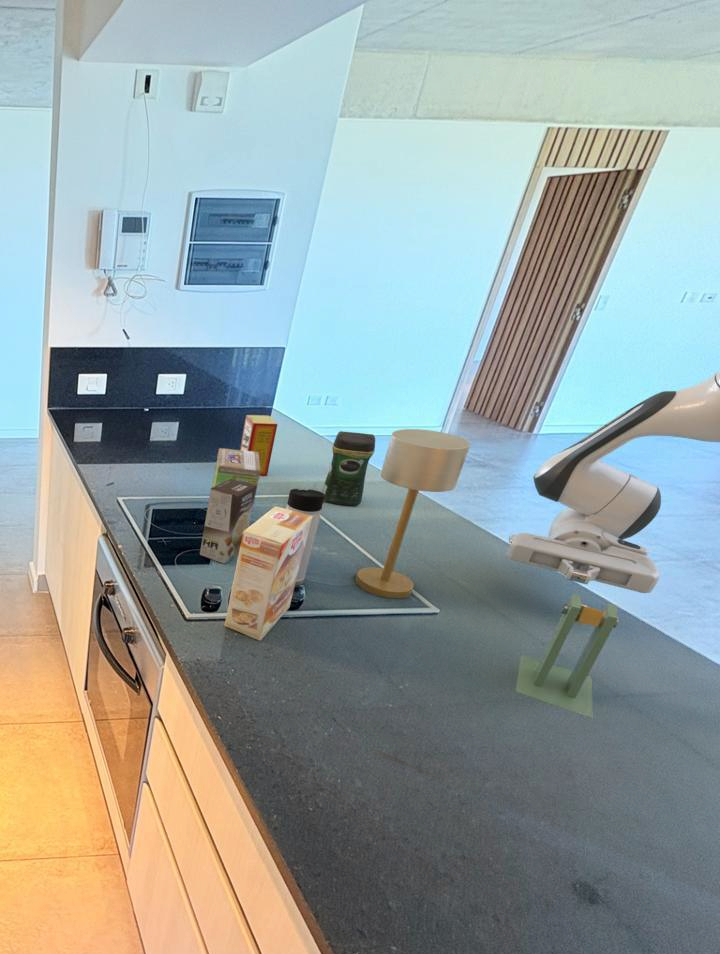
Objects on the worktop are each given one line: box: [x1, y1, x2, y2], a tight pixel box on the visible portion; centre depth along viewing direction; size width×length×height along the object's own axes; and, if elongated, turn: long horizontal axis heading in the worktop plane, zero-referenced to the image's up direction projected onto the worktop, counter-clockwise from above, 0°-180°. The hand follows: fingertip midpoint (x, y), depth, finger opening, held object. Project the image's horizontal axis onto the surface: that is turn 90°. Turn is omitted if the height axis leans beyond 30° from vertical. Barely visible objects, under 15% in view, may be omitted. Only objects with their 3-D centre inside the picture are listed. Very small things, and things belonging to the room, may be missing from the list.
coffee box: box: [199, 479, 258, 565], centre depth 134 cm, size 9×6×16 cm
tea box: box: [211, 447, 261, 488], centre depth 155 cm, size 15×10×15 cm
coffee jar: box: [321, 430, 376, 506], centre depth 160 cm, size 10×8×19 cm
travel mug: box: [285, 488, 325, 586], centre depth 123 cm, size 6×7×20 cm
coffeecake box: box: [224, 505, 313, 641], centre depth 111 cm, size 15×7×20 cm, turn 137°
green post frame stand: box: [515, 593, 620, 719], centre depth 93 cm, size 12×9×16 cm
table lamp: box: [355, 428, 471, 599], centre depth 118 cm, size 12×12×31 cm
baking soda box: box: [239, 414, 278, 477], centre depth 182 cm, size 10×6×16 cm
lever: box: [572, 602, 604, 627], centre depth 94 cm, size 13×4×4 cm, turn 140°
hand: (578, 578), depth 106 cm, fingers closed
